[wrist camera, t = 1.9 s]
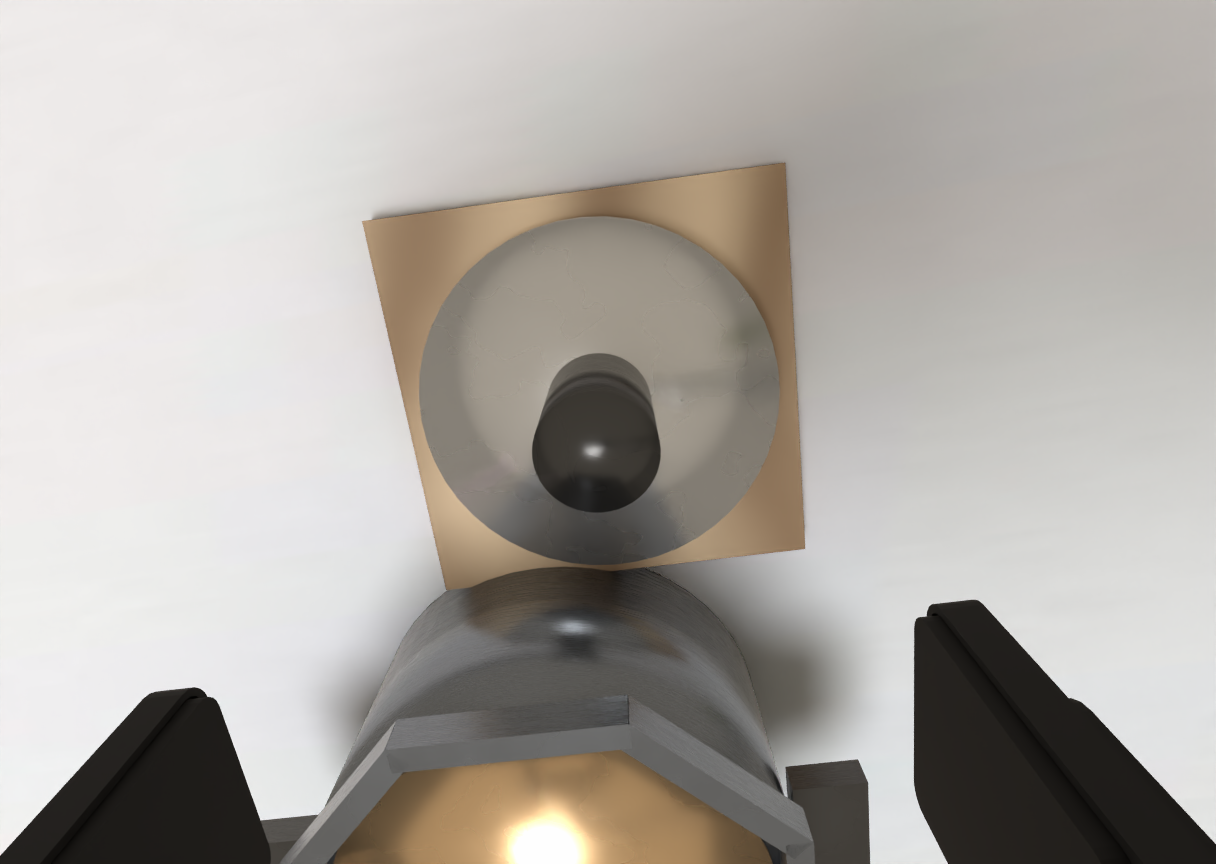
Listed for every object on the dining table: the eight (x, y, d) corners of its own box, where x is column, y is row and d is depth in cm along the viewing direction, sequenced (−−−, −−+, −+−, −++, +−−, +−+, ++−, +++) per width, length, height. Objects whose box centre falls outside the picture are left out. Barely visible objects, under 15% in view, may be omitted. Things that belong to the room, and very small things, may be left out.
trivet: (778, 163, 25) (784, 162, 24) (798, 537, 29) (805, 548, 28) (371, 220, 25) (361, 221, 24) (451, 577, 29) (446, 590, 29)
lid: (843, 407, 26) (908, 466, 20) (590, 610, 29) (585, 714, 23) (610, 132, 23) (610, 112, 18) (353, 386, 26) (281, 440, 20)
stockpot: (801, 525, 29) (898, 695, 19) (817, 837, 34) (901, 1098, 24) (287, 585, 30) (130, 776, 20) (377, 880, 35) (287, 1148, 25)
